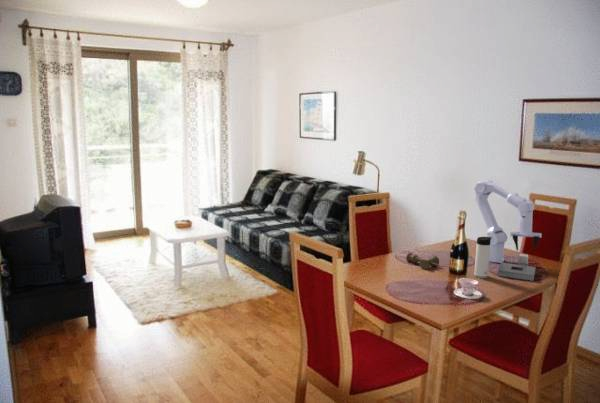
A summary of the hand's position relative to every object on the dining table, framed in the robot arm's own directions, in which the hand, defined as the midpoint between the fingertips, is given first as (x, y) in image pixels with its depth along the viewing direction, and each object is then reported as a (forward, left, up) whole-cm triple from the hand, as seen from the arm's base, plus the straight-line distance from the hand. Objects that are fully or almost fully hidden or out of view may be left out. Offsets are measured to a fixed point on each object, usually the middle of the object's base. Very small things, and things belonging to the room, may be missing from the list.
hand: (525, 250), depth 252 cm
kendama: (-47, -21, -10) cm, 52 cm away
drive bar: (-1, 0, -10) cm, 10 cm away
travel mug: (-18, -24, -10) cm, 31 cm away
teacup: (-19, -52, -10) cm, 56 cm away
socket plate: (-3, -12, -10) cm, 16 cm away
